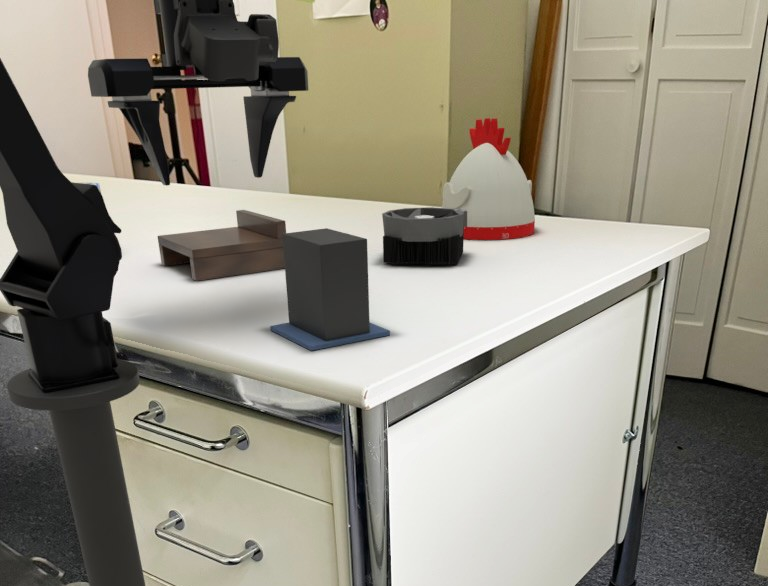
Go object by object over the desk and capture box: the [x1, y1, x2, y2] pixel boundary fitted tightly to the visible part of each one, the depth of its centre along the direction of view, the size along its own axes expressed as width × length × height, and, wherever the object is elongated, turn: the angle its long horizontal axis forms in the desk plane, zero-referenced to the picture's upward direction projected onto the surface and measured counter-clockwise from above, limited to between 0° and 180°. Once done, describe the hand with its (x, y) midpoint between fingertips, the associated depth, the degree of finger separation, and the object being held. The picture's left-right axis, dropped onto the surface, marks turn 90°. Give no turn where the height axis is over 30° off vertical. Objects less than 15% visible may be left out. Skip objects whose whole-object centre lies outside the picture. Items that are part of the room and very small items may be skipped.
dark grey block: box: [282, 227, 371, 341], centre depth 71 cm, size 4×7×8 cm, turn 33°
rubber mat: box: [269, 322, 391, 352], centre depth 73 cm, size 8×8×1 cm
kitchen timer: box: [441, 117, 536, 241], centre depth 115 cm, size 14×14×15 cm
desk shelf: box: [157, 209, 287, 282], centre depth 99 cm, size 12×12×6 cm
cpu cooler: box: [381, 206, 467, 266], centre depth 100 cm, size 10×6×10 cm
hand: (213, 181), depth 76 cm, fingers open, 9 cm apart
